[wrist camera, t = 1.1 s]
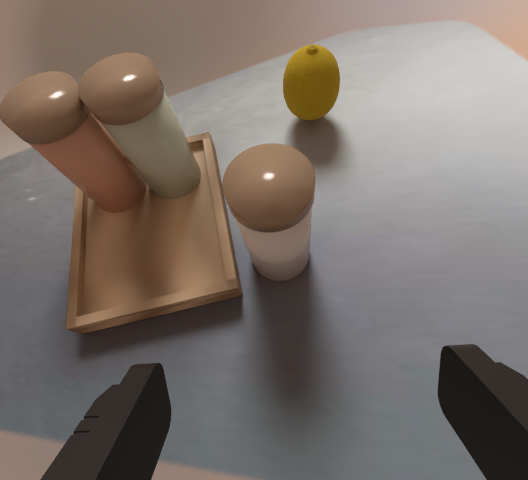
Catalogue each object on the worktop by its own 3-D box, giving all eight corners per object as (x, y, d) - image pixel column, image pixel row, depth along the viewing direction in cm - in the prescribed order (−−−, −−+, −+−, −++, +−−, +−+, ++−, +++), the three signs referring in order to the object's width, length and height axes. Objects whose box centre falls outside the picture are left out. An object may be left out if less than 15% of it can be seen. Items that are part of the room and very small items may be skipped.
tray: (214, 147, 34) (209, 131, 32) (242, 295, 27) (237, 287, 25) (90, 177, 34) (77, 164, 32) (84, 333, 27) (65, 329, 25)
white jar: (301, 220, 29) (301, 134, 19) (317, 273, 27) (327, 206, 17) (245, 234, 29) (216, 155, 19) (256, 288, 27) (230, 230, 17)
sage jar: (198, 150, 32) (152, 45, 22) (205, 192, 30) (157, 96, 20) (147, 162, 32) (80, 63, 22) (150, 205, 30) (75, 116, 20)
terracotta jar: (146, 162, 32) (78, 63, 22) (149, 206, 30) (73, 116, 20) (96, 175, 32) (5, 81, 22) (94, 219, 30) (-8, 136, 20)
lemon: (292, 141, 33) (290, 74, 26) (279, 106, 36) (274, 35, 29) (342, 128, 33) (354, 57, 26) (326, 94, 36) (332, 20, 29)
